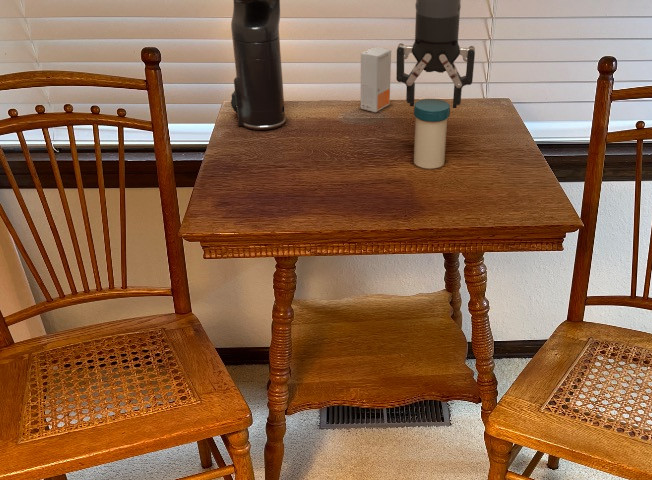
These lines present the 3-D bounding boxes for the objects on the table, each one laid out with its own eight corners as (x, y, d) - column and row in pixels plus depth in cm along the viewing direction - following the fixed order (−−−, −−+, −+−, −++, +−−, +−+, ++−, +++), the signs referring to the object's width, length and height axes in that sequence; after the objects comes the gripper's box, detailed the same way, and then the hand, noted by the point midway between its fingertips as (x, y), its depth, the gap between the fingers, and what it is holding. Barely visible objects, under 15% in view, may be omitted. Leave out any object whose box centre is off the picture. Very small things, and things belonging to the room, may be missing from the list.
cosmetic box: (376, 113, 164) (376, 56, 157) (360, 109, 166) (359, 52, 158) (390, 105, 168) (392, 49, 161) (374, 101, 170) (375, 45, 162)
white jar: (412, 167, 143) (414, 112, 136) (414, 154, 148) (416, 100, 141) (443, 169, 143) (447, 114, 136) (445, 156, 147) (448, 102, 140)
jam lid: (412, 120, 137) (412, 110, 136) (415, 107, 142) (415, 97, 141) (448, 122, 137) (449, 112, 135) (450, 109, 142) (450, 99, 140)
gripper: (480, 5, 130) (472, 100, 141) (397, 2, 131) (396, 97, 142) (480, 17, 125) (471, 115, 135) (394, 13, 125) (392, 111, 136)
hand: (433, 105), depth 138 cm, fingers open, 7 cm apart
